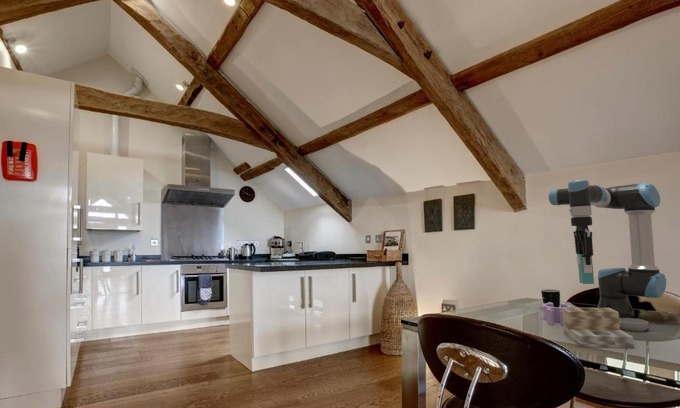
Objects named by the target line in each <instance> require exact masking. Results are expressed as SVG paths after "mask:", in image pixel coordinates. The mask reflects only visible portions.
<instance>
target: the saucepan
mask: <svg viewBox="0 0 680 408" xmlns="http://www.w3.org/2000/svg"><path fill="white" fill-rule="evenodd" d="M619 323H620V329H621V330H625V331H631V332H646V331H647V330H648V327H649V321H648V320H645V319H642V318H641V319H640V318H633V317H628V318H619ZM645 330H646V331H645Z"/></svg>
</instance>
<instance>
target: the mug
mask: <svg viewBox="0 0 680 408" xmlns="http://www.w3.org/2000/svg"><path fill="white" fill-rule="evenodd" d="M541 297H542V299H541V300H542V303H543V304H545V303H548V302H551V303H553V307H558V308H560V307H561V305H560V304H561V290H559V289H555V288H544V289H541Z"/></svg>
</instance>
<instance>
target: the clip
mask: <svg viewBox="0 0 680 408" xmlns="http://www.w3.org/2000/svg"><path fill="white" fill-rule="evenodd" d="M541 305H542V315H543V316H542V317H543V320H545V321H547V325H551V326H555V323H559V324H560V327H564V325H563V313H562V308H572V305H571V304H568V303H566V302H560V307H559V308H558V307H553V303H551V302H548V303H545V304H541Z"/></svg>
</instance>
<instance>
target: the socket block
mask: <svg viewBox="0 0 680 408" xmlns="http://www.w3.org/2000/svg"><path fill="white" fill-rule="evenodd" d="M562 313H563V325H564V326H563V334H564V335H566V336H567V337H568V338H569V339H570V340H572V342H574V343H576V345H577V346H579V347H583V348H584V347H585V348H586V347H587V348H618V349H621V348H622V349H635V340H634V336H633V335H631V334H629V333H627V332H625V331H623V330H622V329H621V327H620V323H619V312H617V311H615V310H613V309H611V308H597V307H571V308H562Z"/></svg>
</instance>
